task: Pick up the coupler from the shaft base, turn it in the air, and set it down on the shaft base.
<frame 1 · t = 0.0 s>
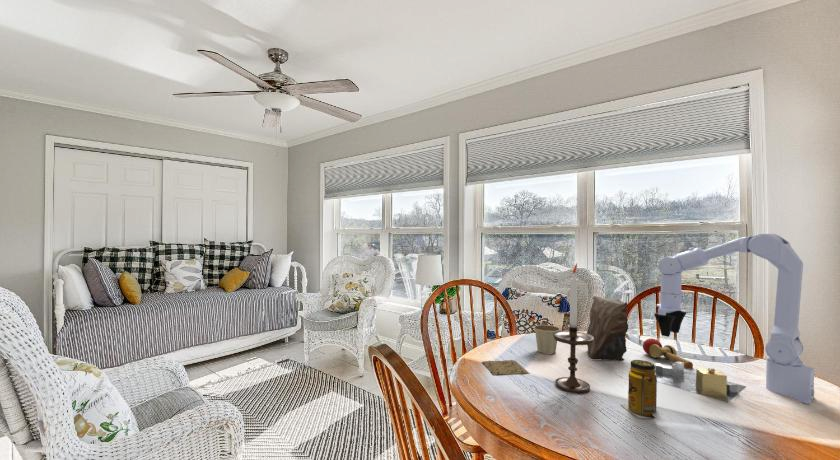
hand: (670, 334, 129), 10 cm above the table, tool pointing down, fingers open, 7 cm apart
condiment: (645, 412, 96), on the table
flower pot: (546, 352, 141), on the table
brown stone coaster: (504, 369, 125), on the table
kendama: (666, 362, 133), on the table
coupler: (710, 392, 105), point 1 cm above the table, touching shaft base
candlestick: (572, 387, 110), on the table
shaft base: (691, 384, 113), on the table
brown rock block: (601, 356, 137), on the table
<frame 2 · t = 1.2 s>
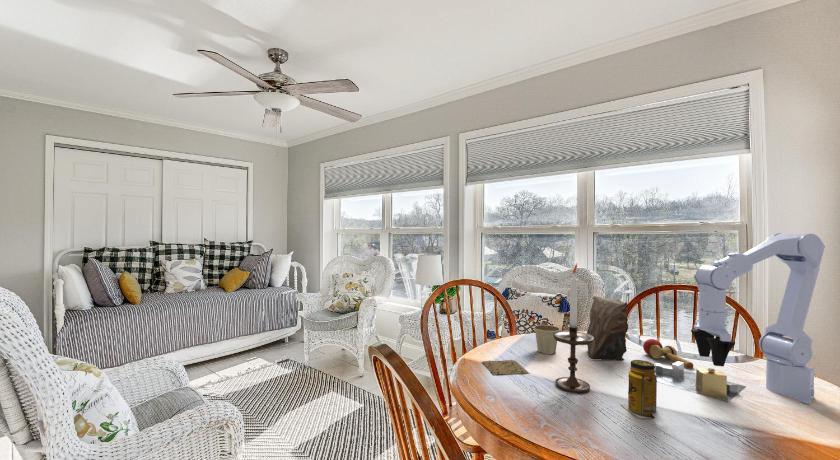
hand: (711, 360, 105), 9 cm above the table, tool pointing down, fingers open, 7 cm apart
nothing on the table moved.
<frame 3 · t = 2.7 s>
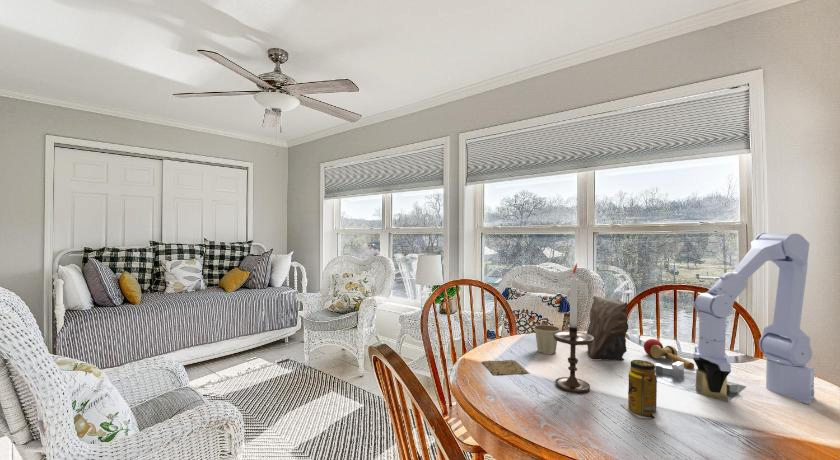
hand: (710, 388, 105), 2 cm above the table, tool pointing down, fingers closed on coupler, 4 cm apart
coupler: (710, 392, 105), point 1 cm above the table, touching gripper, shaft base
everything else where it was.
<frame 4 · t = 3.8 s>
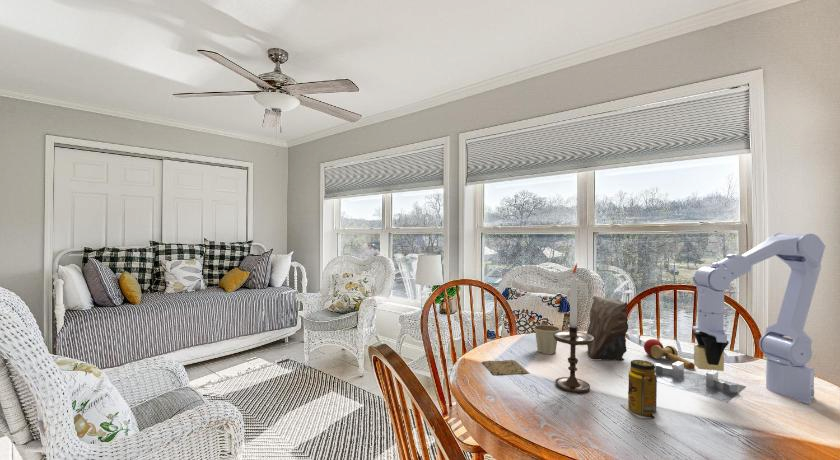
hand: (709, 361, 106), 9 cm above the table, tool pointing down, fingers closed on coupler, 4 cm apart
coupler: (708, 367, 106), point 7 cm above the table, touching gripper
everything else where it was.
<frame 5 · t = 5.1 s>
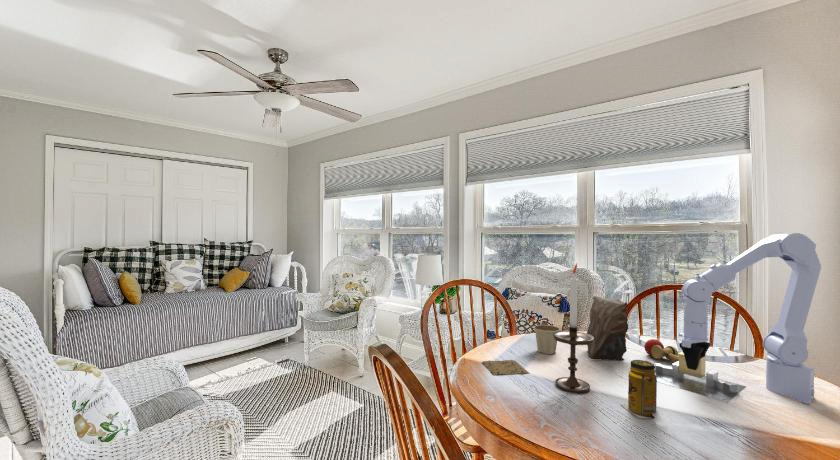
hand: (694, 367, 114), 4 cm above the table, tool pointing down, fingers closed on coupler, 4 cm apart
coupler: (691, 374, 115), point 2 cm above the table, touching gripper
everything else where it was.
when the fingers open (3 cm above the table, at t = 6.1 s): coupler stays where it is, resting on shaft base.
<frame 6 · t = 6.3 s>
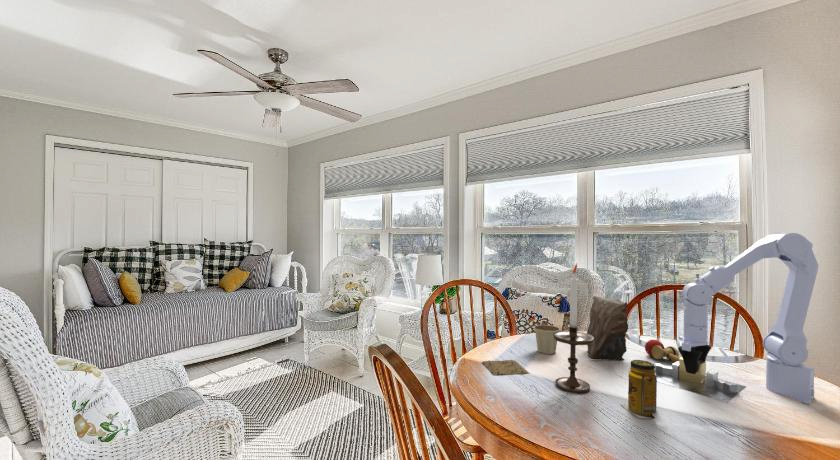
hand: (694, 370, 114), 3 cm above the table, tool pointing down, fingers open, 5 cm apart
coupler: (692, 379, 115), point 1 cm above the table, touching shaft base
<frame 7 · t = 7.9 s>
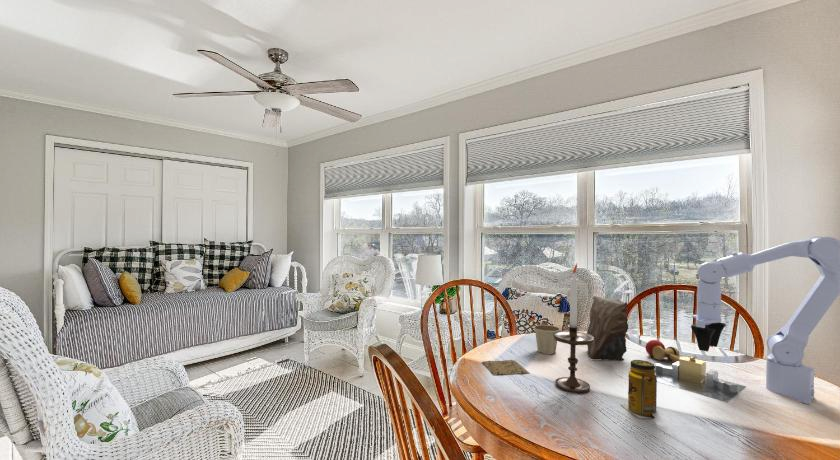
hand: (708, 348, 117), 9 cm above the table, tool pointing down, fingers open, 7 cm apart
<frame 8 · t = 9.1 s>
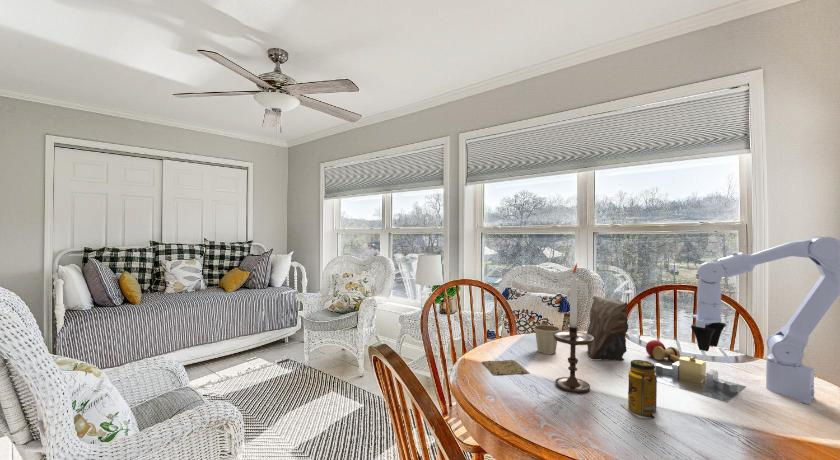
hand: (708, 348, 117), 9 cm above the table, tool pointing down, fingers open, 7 cm apart
at the end: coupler 0.6 cm from the target spot on the shaft base, point 0.8 cm above the shaft base's base; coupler tilted 0°; the gripper is holding nothing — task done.
